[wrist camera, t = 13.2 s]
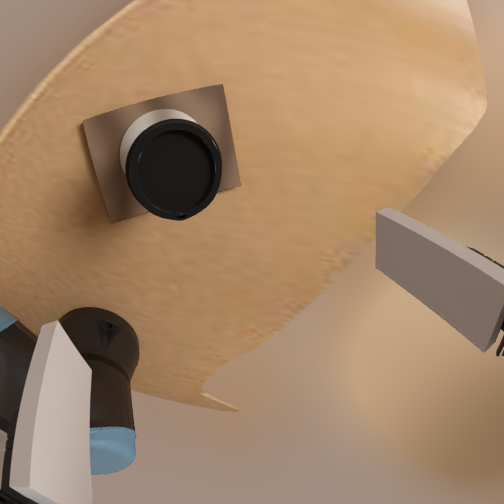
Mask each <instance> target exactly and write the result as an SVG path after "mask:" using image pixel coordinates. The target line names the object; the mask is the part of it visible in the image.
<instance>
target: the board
mask: <svg viewBox="0 0 504 504" xmlns="http://www.w3.org/2000/svg"><path fill="white" fill-rule="evenodd" d="M167 119H185V120H190V121H192V122H195V123H197V124H199V125H201V126H202V127H203V128H205V129H206V130H207V131H208V132H209V133H210V134H211V135H212V136H213V138H214V139H215V141H216V142H217V144H218V147H219V149H220V152H221V157H222V176H221V182H220V186H219V189H218V192H220V191H224V190H228V189H232V188H235V187H239V186H241V182H240V176H239V171H238V165H237V160H236V154H235V149H234V143H233V138H232V132H231V126H230V121H229V115H228V110H227V104H226V99H225V93H224V88H223V84H220V85H215V86H209V87H204V88H199V89H194V90H189V91H184V92H180V93H175V94H171V95H167V96H163V97H158V98H155V99H151V100H147V101H143V102H140V103H136V104H133V105H129V106H126V107H122V108H119V109H116V110H113V111H110V112H107V113H104V114H101V115H98V116H95V117H92V118H89V119H86V120H84V121H83V125H84V130H85V134H86V138H87V142H88V146H89V150H90V154H91V158H92V161H93V165H94V169H95V172H96V176H97V179H98V182H99V186H100V189H101V192H102V196H103V199H104V202H105V205H106V208H107V211H108V214H109V217H110V220H111V223H115V222H118V221H121V220H124V219H127V218H130V217H133V216H137V215H140V214H143V213H146V212H149V211H148V210H146V208H144V207H143V206H142V205H141V204H140V203H139V202H138V201H137V200H136V198H135V197H134V196H133V194H132V192H131V190H130V188H129V186H128V184H127V180H126V175H125V164H126V158H127V154H128V152H129V149H130V147H131V145H132V143H133V142H134V140H135V139H136V138H137V136H138V135H139V134H140V133H141V132H142V131H144V130H145V129H146V128H148V127H149V126H151V125H153V124H155V123H157V122H159V121H162V120H167Z"/></svg>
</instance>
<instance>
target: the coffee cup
mask: <svg viewBox="0 0 504 504" xmlns="http://www.w3.org/2000/svg"><path fill="white" fill-rule="evenodd" d="M125 175H126V180H127V184H128V186H129V188H130V190H131V192H132V194H133V196H134V197H135V198H136V200H137V201H138V202H139V203H140V204H141V205H142V206H143V207H144V208H146V210H148V211H149V212H151V213H152V214H154V215H156V216H159V217H161V218H165V219H170V220H185V219H188V218H190V217H192V216H194V215H196V214H197V213H199V212H201V211H202V210H203V209H205V208H206V207H207V206H208V205H209V204H210V203H211V202H212V201H213V199H214V197H215V196H216V194H217V192H218V189H219V186H220V182H221V176H222V157H221V152H220V149H219V147H218V144H217V142H216V141H215V139H214V138H213V136H212V135H211V134H210V133H209V132H208V131H207V130H206V129H205V128H203V127H202V126H201V125H199V124H197V123H195V122H192V121H190V120H185V119H167V120H162V121H159V122H157V123H155V124H153V125H151V126H149V127H148V128H146V129H145V130H144V131H142V132H141V133H140V134H139V135H138V136H137V138H136V139H135V140H134V142H133V143H132V145H131V147H130V149H129V152H128V154H127V158H126V164H125Z"/></svg>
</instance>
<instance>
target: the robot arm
mask: <svg viewBox="0 0 504 504" xmlns="http://www.w3.org/2000/svg"><path fill="white" fill-rule="evenodd" d="M376 268H377V269H379V270H380V271H381V272H383V273H384V274H385V275H387V276H388V277H389V278H391V279H392V280H393V281H395V282H396V283H397V284H399V285H400V286H401V287H403V288H404V289H405V290H407V291H408V292H409V293H410V294H412V295H413V296H414V297H416V298H417V299H418V300H420V301H421V302H422V303H423V304H425V305H426V306H427V307H429V308H430V309H431V310H432V311H434V312H435V313H436V314H437V315H439V316H440V317H441V318H442V319H444V320H445V321H446V322H448V323H449V324H450V325H451V326H452V327H454V328H455V329H456V330H457V331H459V332H460V333H461V334H462V335H463V336H465V337H466V338H467V339H468V340H469V341H471V342H472V343H473V344H474V345H475V346H477V347H478V348H479V349H480V350H481V351H482V352H485V351H486V350H487V349H489V348H490V347H491V346H492V345H493V344H494V343H495V341H496V339H497V336H498V334H499V332H500V329H501V330H503V331H504V266H502V265H501V264H499V263H497V262H496V261H492V259H490V258H489V257H487V256H484V254H482V253H480V252H478V251H477V250H475V249H473V248H469V247H466V246H464V245H462V244H460V243H458V242H457V241H455V240H453V239H451V238H449V237H447V236H445V235H443V234H442V233H440V232H438V231H436V230H434V229H432V228H430V227H428V226H426V225H424V224H422V223H420V222H418V221H416V220H414V219H412V218H410V217H408V216H406V215H404V214H402V213H400V212H398V211H396V210H394V209H391V208H389V207H388V208H385V209H383V210H380V211H377V212H376ZM503 347H504V336H503V338H502V340H501V343H500V345H499V347H498V349H497V351H496V356H499V355H500V352H501V351H502V348H503ZM502 356H504V351H503V354H502ZM138 360H139V342H138V338H137V335H136V333H135V331H134V330H133V328H132V327H131V326H130V325H129V323H128V322H126V321H125V320H124V319H123V318H121V317H120V316H118V315H117V314H115V313H113V312H110V311H108V310H104V309H100V308H93V307H85V308H79V309H75V310H72V311H70V312H68V313H67V314H65V315H64V316H63V317H62V318H61V319H60V320H59V321H58V320H56V321H53V322H50V323H47V324H44V325H42V328H41V331H40V334H39V337H37V336H36V335H35V334H34V333H32V332H31V331H30V330H29V329H28V328H27V327H25V326H24V325H23V324H22V323H21V322H20V321H19V319H18V318H17V317H14V316H12V315H11V314H10V313H9V312H7V311H6V310H5V309H4V308H2V307H1V306H0V486H1V490H0V504H93V497H92V484H91V475H101V474H110V473H114V472H117V471H120V470H122V469H124V468H126V467H128V466H129V465H130V464H131V463H132V462H133V460H134V458H135V454H136V451H135V450H136V449H135V439H136V434H135V427H134V419H133V409H132V400H131V388H130V381H131V378H132V376H133V373H134V371H135V368H136V366H137V364H138Z"/></svg>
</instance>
